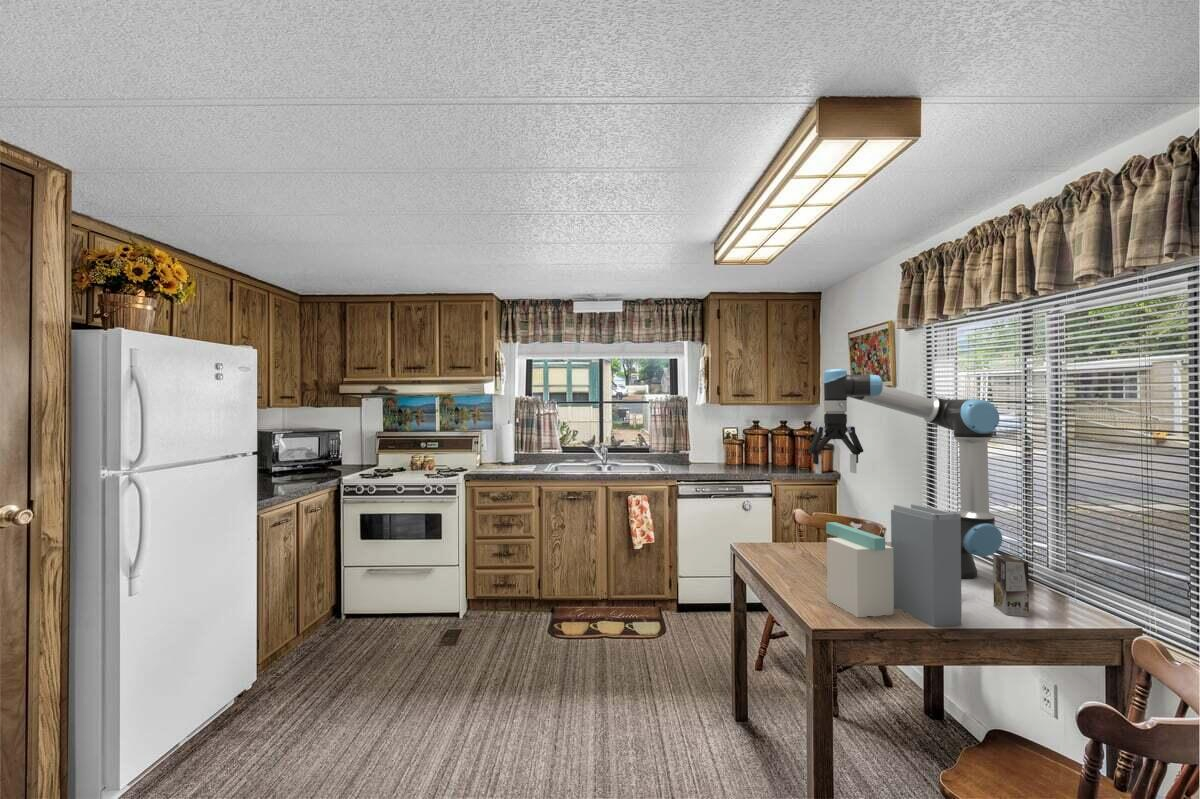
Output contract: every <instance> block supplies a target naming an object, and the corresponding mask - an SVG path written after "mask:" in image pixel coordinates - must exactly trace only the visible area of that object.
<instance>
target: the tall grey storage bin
mask: <svg viewBox="0 0 1200 799" xmlns="http://www.w3.org/2000/svg"><path fill="white" fill-rule="evenodd" d="M947 511H948V510H947ZM947 511H946V510H942V509H938V508H933V507H928V506H924V505H920V504H914V503H912V504H911V503H910V507H908V506H904V505H899V504H893V509H890V532H891V533H890V541H891V542H890V544H891V545H890V547H893V573H894V607H895V608H894V609H896V608H897V609H896V610H898V609H900V610H902V611H904V612H905V613H904V612H903V613H904V614H906V613H908V614H910V615H912V616H914V617H913V618H915V617H916V618H915V619H917V618H918V619H917V620H919V619H920V620H919V621H921V622H923V623H925V624H927V625H929V626H931V627H933V628H936V627H937V628H940V627H948V626H949V627H950V626H962V623H963V622H962V618H963V617H962V614H963V613H962V578H961V514H959V513H951V512H947ZM900 610H899V611H900ZM902 611H901V612H902ZM908 614H907V615H908ZM910 615H909V616H910ZM912 616H911V617H912Z"/></svg>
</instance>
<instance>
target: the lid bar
mask: <svg viewBox="0 0 1200 799" xmlns="http://www.w3.org/2000/svg"><path fill="white" fill-rule="evenodd" d="M825 523H826V524H825V525H826V526H825V528H826V530H825V531H826V532H825V533H826V534H829V535H831V536H833V537H835V538H841V539H844V540H847V541H850V542H852V543H855V544H858V545H861V546H863V547H866V548H869V549H872V550H874V551H877V550H885V545H886V537H882V536H879V535H876V534H874V533H871V532H868V531H865V530H861V529H859V528H855V527H852V526H849V525H846V524H842V523H839V522H836V521H834V522H833V521H832V522H831V521H829V522H825Z"/></svg>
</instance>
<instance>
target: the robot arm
mask: <svg viewBox="0 0 1200 799" xmlns="http://www.w3.org/2000/svg"><path fill="white" fill-rule="evenodd" d="M823 398H824V400H823V404H824V405H823V412H824V414H823V417H824V418H823V420H824V421H823V423H824V426H816V427H815V434H814V435H813V439H812V440H811V443H810V444H809V447H808V450H807V452H808V453H809V454H811V455H812V463H813V464H814V474H818V475H821V474H822V455H821V452H822V451H823V450H824V448H825V447H826V445H827V444H828V443H829V442H830V441H831V440H841V441H842V442H843V444H844V445H845V446H846V447H847V448H848V450H849V451H850V452H851V453H849V473H851V474H857V464H858V463H859V455H861V453H864V449H863V445H862V444H861V441H860V440H859V436H858V435H857V433H856V427H855V426H847V424H848V415H847V410H848V406H847V402H848V398H850V399H854V400H858V401H862V402H865V403H869V404H873V405H878V406H881V407H884V408H887V409H891V410H893V411H898V412H901V413H904V414H908V415H912V416H916V417H919V418H922V419H924V421H925V422H927V423H930V424H934V425H937V426H938V427H941V428H944V429H947V430H951V431H953V438H954V439H955V440H956V441H957V442H958V453H959V455H958V457H959V492H960V494H959V498H960V510H959V511H957V510H956V511H953V510H952V511H948V510H947V512H951V513H959V514H961V579H967V580H968V579H975V578H977V577H978V568H977V566H976V563H975V560H974V557H973V556H977V557H978V556H979V557H989V556H993V555H995V553H996V552H997V551H999V549H1000V547H1001V546H1002V544H1003V534H1002V531H1000V529H999V528H998V527H997V526H996V524H995V523H996V522H995V515H994V514H992V513H991V512H990V493H989V491H990V490H989V489H990V487H989V485H990V484H989V483H990V482H989V455H988V454H989V453H988V452H989V450H988V445H989V444H988V443H989V442H990V441H991V440H992V439H993V438H994V437H993V432H994V430H996V428H997V427H998V425H999V422H1000V414H999V412H998V408H996V406H995V405H993V403H991V402H989V401H988V400H985V399H979V398H970V399H946V398H940V397H936V396H933V397H931V398H929V397H925V396H922V395H919V394H915V393H911V392H907V391H903V390H901V389H897V388H893V387H889V386H886V385H884V382H883V379H882V377H881V376H880V375H878V374H848V373H847V370H846V369H844V368H832V369H826V370H824V375H823ZM823 433H824V435H823ZM847 433H848V435H849V436H848V435H847ZM821 438H822V439H821Z"/></svg>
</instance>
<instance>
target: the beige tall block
mask: <svg viewBox="0 0 1200 799" xmlns="http://www.w3.org/2000/svg"><path fill="white" fill-rule="evenodd" d="M826 568H827V569H826V577H827V579H826V581H827V583H826V584H827V585H826V589H827V590H826V591H827V593H826V600H827V602H829V603H830V602H831V603H830V604H832V603H833V604H832V605H834V604H835V606H836V605H837V606H836V607H837V608H839V607H840V608H839V609H841V608H842V609H841V610H843V609H844V610H843V611H845V612H847V613H848V612H849V614H850V613H851V615H852V614H853V615H852V616H854V617H855V618H857V617H860V618H868V617H867V616H873V617H882V616H881V615H886V616H893V615H892V614H894V615H895V613H894V612H895V608H894V573H893V547H891V545H890V546H889V545H887V544H885V550H877V551H874V550H872V549H869V548H866V547H863V546H861V545H858V544H855V543H852V542H850V541H847V540H844V539H841V538H839V537H827V538H826Z"/></svg>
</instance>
